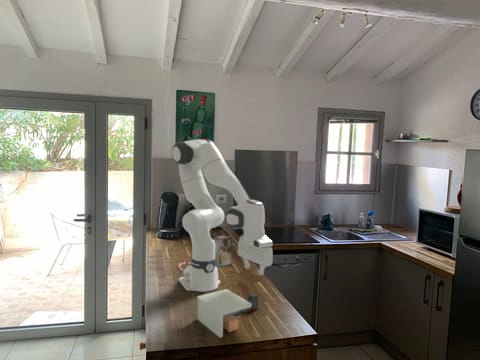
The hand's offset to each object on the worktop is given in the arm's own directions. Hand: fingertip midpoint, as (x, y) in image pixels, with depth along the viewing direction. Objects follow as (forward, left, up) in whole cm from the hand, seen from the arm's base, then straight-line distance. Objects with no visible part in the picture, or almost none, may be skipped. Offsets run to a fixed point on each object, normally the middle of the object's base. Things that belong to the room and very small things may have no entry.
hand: (254, 271), depth 151 cm
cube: (+9, -17, -17) cm, 25 cm away
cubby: (+4, -17, -16) cm, 24 cm away
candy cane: (-63, 0, -17) cm, 65 cm away
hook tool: (+2, -7, -16) cm, 18 cm away
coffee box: (-57, +21, -17) cm, 63 cm away
